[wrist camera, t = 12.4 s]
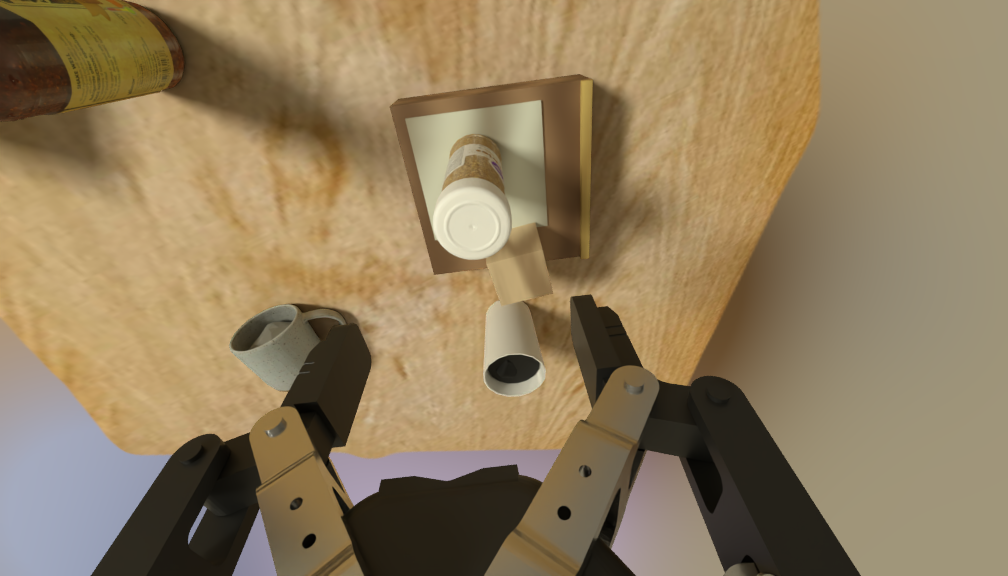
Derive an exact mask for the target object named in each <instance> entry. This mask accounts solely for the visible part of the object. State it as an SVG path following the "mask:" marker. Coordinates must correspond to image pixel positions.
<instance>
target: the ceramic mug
mask: <svg viewBox="0 0 1008 576" xmlns="http://www.w3.org/2000/svg"><path fill="white" fill-rule="evenodd" d="M323 317H325V318H331V319H336V320H338V322H339V325H345V324H346V322H345V320H344V318H343V317H342V316H341V314H339V313H338V312H336V311H333V310H330V309H317V310H312V311H308V312H305V313H302V312H301V311H300V309H299V308H298V307H296V306H295V305H291V304H284V305H279V306H275V307H272V308H269V309H266V310H264V311H262V312H261V313H259V314H257V315H255V316H254V317H252V318H251V319H249V320H248V321H247V322H246V323H244V324H243V325H242V326H241V327H240V328H239V329H238V330H237V331H236V333H235V334H234V335H233V337H232V339H231V341H230V344H229V347H230V351H231V352H232V353H233V354H234V355H235V356H236V357H237V358H238V359H240V360H241V361H242V362H243V363H244V364H245V365H246V366H247V367H248V368H250V369H251V370H252V371H253V372H254V373H255V374H256V375H258V376H259V377H260V378H261V379H262V380H263V381H264V382H265V383H266V384H267V385H269V386H271V387H272V388H274V389H276V390H278V391H283V392H289V390H290V388H291V386H292V384H293V382H294V380H295V379H296V377H297V375H299V371H300V369H301V367H302V366H303V365H304V362H305V360H306V358H307V356H308V354H309V352H310V351H311V350H312V349H313V348H314V347H315V346H316V345H317V344H318V343H319V342H320V341H321V340H320V339H319V338H318V336H317V335H316V334H315V332H314V331H313V329H312V327H311V326H310V324H309V323H308V321H307V320H310V319H316V318H323Z"/></svg>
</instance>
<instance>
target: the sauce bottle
mask: <svg viewBox="0 0 1008 576" xmlns="http://www.w3.org/2000/svg"><path fill="white" fill-rule="evenodd" d="M184 66H185V64H184V57H183V54H182V49H181V47H180V45H179V43H178V41H177V39H176V37H175V36H174V35H173V33H172V32H171V30H170V29H169V28H168V27H167V26H166V24H165V23H164V22H163V21H162V20H161V19H160V18H159V17H158V16H156V15H155V14H154V13H152V12H150V11H149V10H147V9H146V8H144V7H142V6H141V5H138V4H136V3H132V2H127V1H124V0H0V121H16V120H19V119H25V118H27V117H33V116H38V115H54V114H59V113H64V112H69V111H73V110H78V109H83V108H88V107H92V106H97V105H102V104H107V103H111V102H116V101H121V100H126V99H130V98H135V97H139V96H144V95H149V94H153V93H158V92H161V90H164V89H166V88H172V87H174V86H176V84H177V83H178V82H179V81H180V80H181V78H182V76H183V70H184Z"/></svg>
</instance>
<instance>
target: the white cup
mask: <svg viewBox="0 0 1008 576" xmlns="http://www.w3.org/2000/svg"><path fill="white" fill-rule="evenodd" d="M545 373H546V370H545V366H544V362H543V358H542V354H541V350H540V346H539V343H538V339H537V335H536V331H535V327H534V323H533V319H532V315H531V312H530V310H529V307H528V306H527V305H526V304H525V303H524V302H522V301H520V302H516V303H512V304H508V305H504V306H501V303H500V301H496V302H495V303H494V304H492V305H491V306H490V307H489V309H488V311H487V313H486V330H485V351H484V372H483V374H484V382H485V384H486V385H487V387H488V388H489V389H490V390H492V391H493V392H495V393H496V394H499V395H504V396H508V397H509V396H522V395H525V394H528V393H531V392H532V391H534V390H535V389H537V388H538V387H540V385H541V384H542V382H543V381H544V380H545Z"/></svg>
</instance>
